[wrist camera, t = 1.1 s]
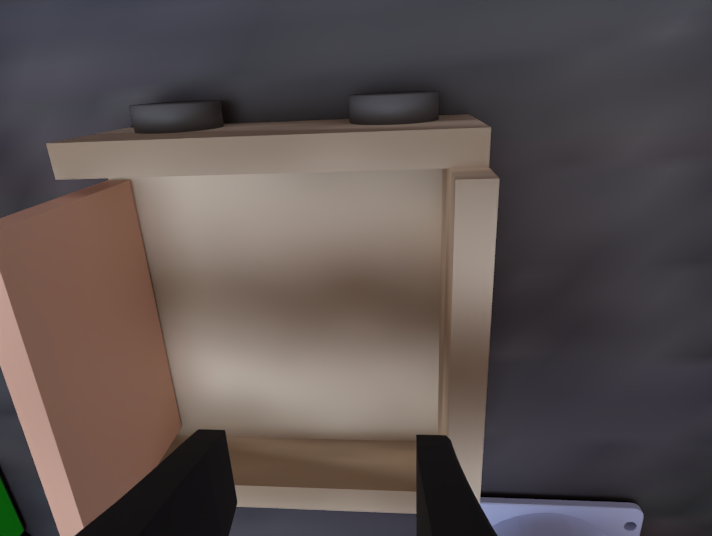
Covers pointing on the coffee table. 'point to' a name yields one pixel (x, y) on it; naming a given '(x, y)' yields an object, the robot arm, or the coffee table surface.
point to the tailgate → (84, 349)
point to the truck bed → (316, 287)
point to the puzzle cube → (9, 515)
